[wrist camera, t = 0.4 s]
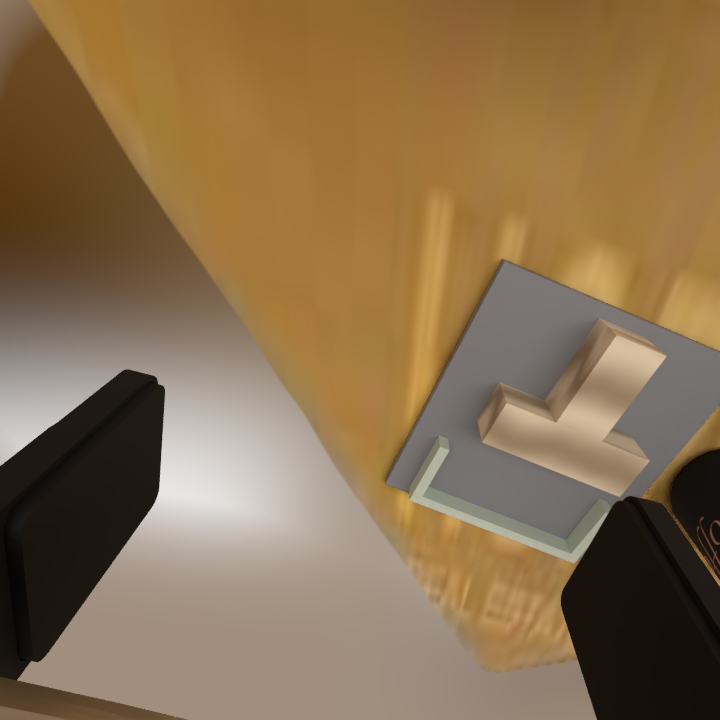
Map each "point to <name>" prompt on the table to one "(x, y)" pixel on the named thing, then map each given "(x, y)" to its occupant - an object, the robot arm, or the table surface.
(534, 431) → the t block
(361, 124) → the table surface
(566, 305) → the mat
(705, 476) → the coffee jar
